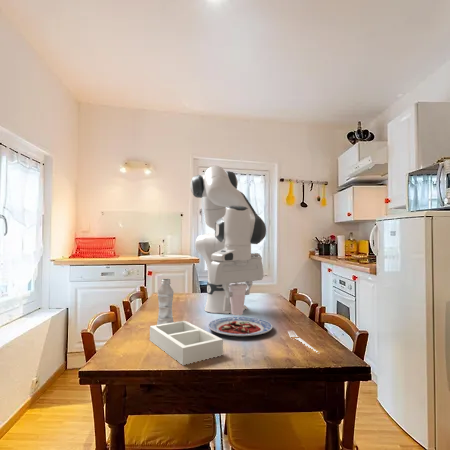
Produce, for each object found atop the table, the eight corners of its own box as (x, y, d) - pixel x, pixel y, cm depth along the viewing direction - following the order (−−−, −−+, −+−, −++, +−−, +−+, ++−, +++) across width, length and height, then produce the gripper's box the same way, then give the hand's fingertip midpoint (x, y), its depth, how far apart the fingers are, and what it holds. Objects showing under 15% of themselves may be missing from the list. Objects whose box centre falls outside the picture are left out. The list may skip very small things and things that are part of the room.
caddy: (149, 340, 112) (149, 326, 112) (184, 333, 120) (184, 320, 120) (182, 365, 90) (182, 348, 90) (222, 355, 98) (222, 339, 98)
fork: (314, 356, 100) (314, 350, 100) (286, 335, 119) (286, 330, 119) (323, 355, 101) (323, 349, 101) (294, 335, 120) (294, 330, 120)
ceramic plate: (254, 345, 108) (254, 337, 108) (195, 333, 121) (195, 325, 121) (282, 327, 130) (282, 320, 130) (229, 318, 143) (229, 312, 143)
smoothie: (226, 311, 106) (227, 270, 106) (245, 310, 107) (245, 269, 107) (228, 316, 100) (229, 272, 100) (248, 316, 100) (248, 272, 100)
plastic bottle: (176, 327, 128) (176, 278, 128) (168, 332, 121) (168, 280, 122) (162, 326, 130) (163, 278, 130) (153, 330, 123) (154, 280, 124)
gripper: (255, 252, 112) (255, 291, 112) (206, 254, 100) (206, 297, 100) (267, 253, 107) (267, 293, 106) (217, 256, 95) (217, 301, 95)
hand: (237, 295), depth 103 cm, fingers closed on smoothie, 6 cm apart
